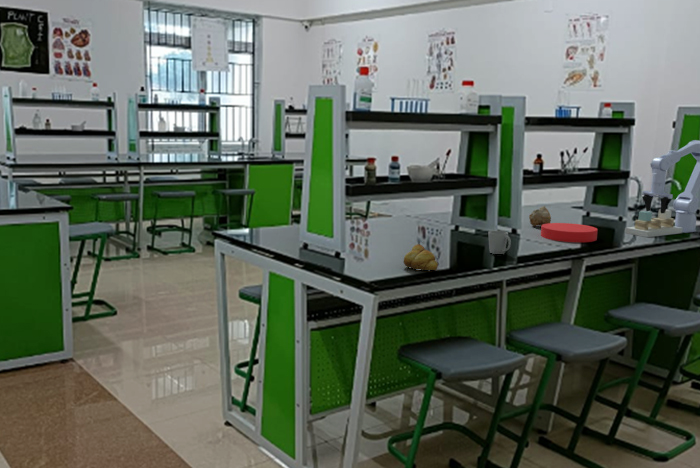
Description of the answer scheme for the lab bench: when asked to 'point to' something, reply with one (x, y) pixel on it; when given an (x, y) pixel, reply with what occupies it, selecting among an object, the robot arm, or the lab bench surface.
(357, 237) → the lab bench surface
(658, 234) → the dock
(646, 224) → the beige lumpy bar
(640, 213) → the crate teal
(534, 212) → the rock
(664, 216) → the crate white
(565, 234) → the disc
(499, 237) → the cup
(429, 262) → the bread roll
